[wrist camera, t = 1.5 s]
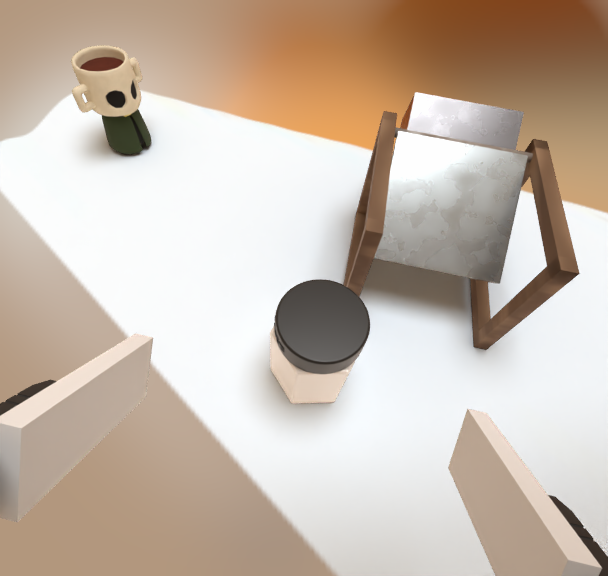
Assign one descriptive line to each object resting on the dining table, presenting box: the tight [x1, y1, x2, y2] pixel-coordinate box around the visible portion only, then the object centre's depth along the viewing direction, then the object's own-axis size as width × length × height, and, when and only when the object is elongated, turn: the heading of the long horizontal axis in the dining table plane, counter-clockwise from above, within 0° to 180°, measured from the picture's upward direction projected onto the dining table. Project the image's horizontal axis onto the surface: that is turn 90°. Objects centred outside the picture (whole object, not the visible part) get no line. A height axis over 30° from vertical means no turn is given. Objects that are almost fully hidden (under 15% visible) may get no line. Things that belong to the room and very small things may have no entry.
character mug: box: [71, 45, 151, 154], centre depth 54 cm, size 11×7×13 cm, turn 148°
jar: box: [270, 280, 370, 404], centre depth 37 cm, size 9×8×12 cm
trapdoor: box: [374, 92, 528, 283], centre depth 44 cm, size 14×19×8 cm
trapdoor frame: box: [344, 111, 579, 350], centre depth 43 cm, size 18×18×16 cm
